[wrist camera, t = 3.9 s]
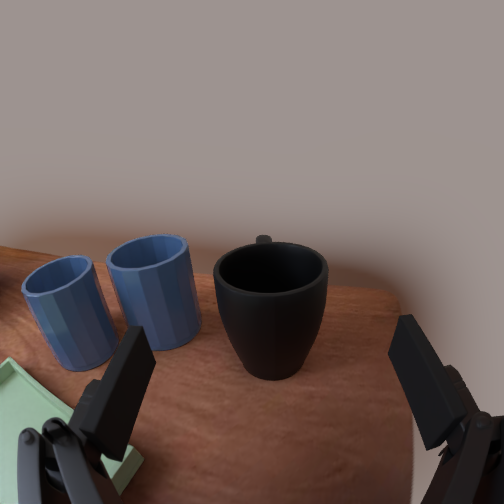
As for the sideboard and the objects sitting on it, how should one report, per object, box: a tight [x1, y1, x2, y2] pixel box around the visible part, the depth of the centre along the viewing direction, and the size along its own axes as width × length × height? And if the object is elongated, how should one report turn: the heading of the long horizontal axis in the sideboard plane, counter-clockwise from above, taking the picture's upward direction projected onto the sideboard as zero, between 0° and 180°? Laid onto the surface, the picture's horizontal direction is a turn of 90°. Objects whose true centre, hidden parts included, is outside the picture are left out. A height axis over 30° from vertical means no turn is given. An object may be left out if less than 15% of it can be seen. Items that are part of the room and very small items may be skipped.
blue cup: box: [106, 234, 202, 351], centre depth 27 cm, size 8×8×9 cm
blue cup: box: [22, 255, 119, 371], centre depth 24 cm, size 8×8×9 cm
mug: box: [213, 235, 329, 380], centre depth 24 cm, size 8×12×10 cm
